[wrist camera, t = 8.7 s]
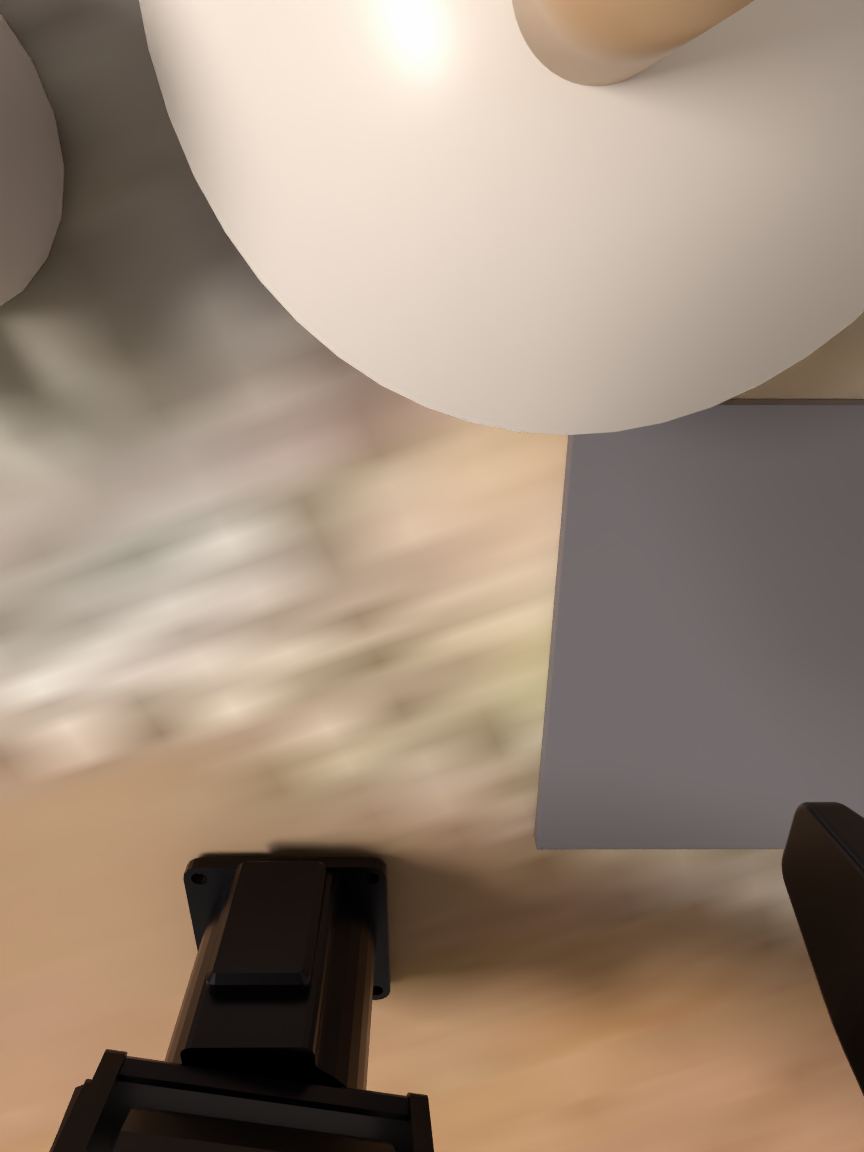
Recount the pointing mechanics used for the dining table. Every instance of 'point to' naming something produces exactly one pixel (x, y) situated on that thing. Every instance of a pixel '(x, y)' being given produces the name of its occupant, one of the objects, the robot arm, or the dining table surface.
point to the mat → (707, 629)
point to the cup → (25, 169)
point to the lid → (536, 189)
